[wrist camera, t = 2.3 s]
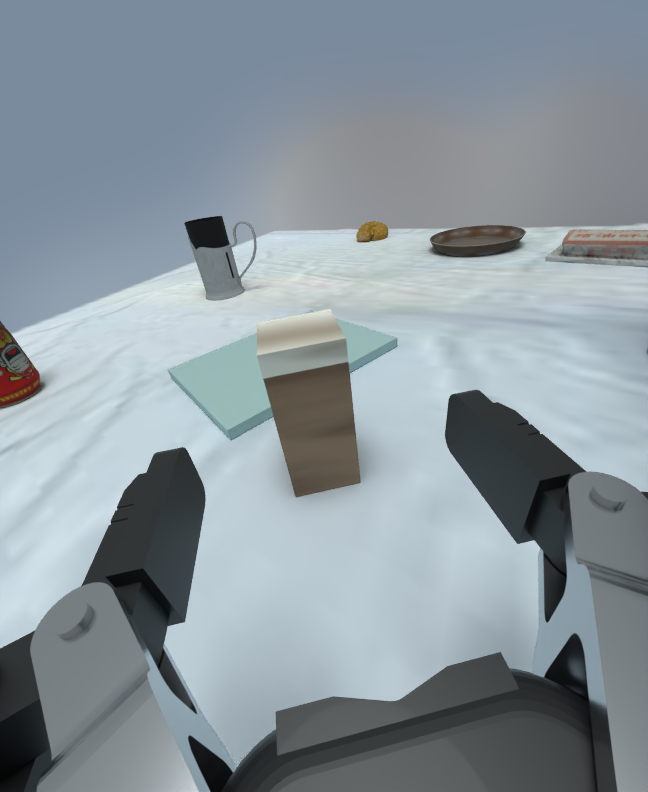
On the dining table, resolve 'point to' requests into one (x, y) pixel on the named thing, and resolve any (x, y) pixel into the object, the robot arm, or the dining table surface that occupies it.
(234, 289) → the glass holder
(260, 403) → the sage board
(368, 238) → the bagel
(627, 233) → the packaged product
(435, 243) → the plant saucer
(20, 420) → the dining table surface
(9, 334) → the soda can
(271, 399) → the brown tall square block
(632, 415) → the dining table surface
